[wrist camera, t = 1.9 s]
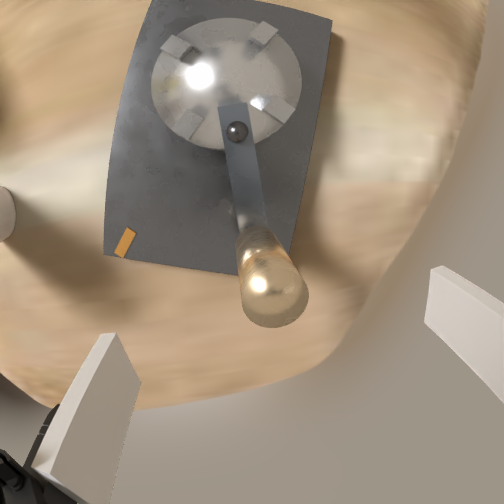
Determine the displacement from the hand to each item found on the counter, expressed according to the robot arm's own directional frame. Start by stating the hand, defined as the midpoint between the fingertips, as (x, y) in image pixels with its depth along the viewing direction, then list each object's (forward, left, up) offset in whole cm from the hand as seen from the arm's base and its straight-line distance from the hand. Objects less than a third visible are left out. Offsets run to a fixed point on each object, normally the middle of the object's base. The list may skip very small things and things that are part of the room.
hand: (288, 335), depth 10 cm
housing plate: (-9, -5, -17) cm, 20 cm away
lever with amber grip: (-8, -3, -14) cm, 17 cm away
